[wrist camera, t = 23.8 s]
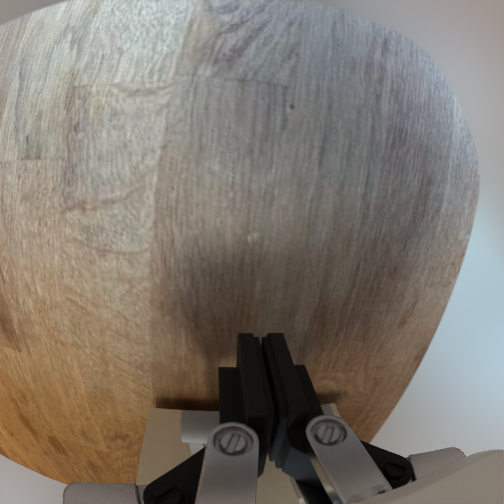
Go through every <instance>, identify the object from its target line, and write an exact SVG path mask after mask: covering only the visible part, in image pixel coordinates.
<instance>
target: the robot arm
mask: <svg viewBox="0 0 504 504" xmlns="http://www.w3.org/2000/svg"><path fill="white" fill-rule="evenodd" d="M218 380H219V422H220V425H218V426H216V427H215V428H214V429H213V430H212V431H211V432H210V434H209V436H208V439H207V444H206V446H205V447H203V448H202V449H201V450H199V451H198V452H196V453H195V454H194V455H192V456H191V457H189V458H188V459H186V460H185V461H183V462H182V463H180V464H179V465H177V466H176V467H174V468H173V469H171V470H170V471H168V472H167V473H165V474H163V475H162V476H160V477H159V478H157V479H155V480H154V481H152V482H151V483H150V484H148V485H136V483H95V482H73V483H71V484H69V485H67V487H66V488H65V489H64V493H63V504H256V497H257V479H258V478H259V477H260V476H261V475H262V474H263V472H264V467H265V463H266V458H267V454H268V458H269V461H270V462H273V461H275V466H276V469H277V468H281V469H282V472H284V473H285V474H287V475H289V478H290V482H291V484H292V486H293V489H294V491H295V493H296V495H297V498H298V500H299V502H300V504H504V450H488V451H484V452H479V453H475V454H472V455H470V456H467V457H466V456H465V455H464V453H463V452H462V451H461V450H460V449H458V448H455V447H451V448H445V449H441V450H436V451H431V452H425V453H420V454H414V455H409V457H408V458H404V457H402V456H400V455H397V454H395V453H392V452H389V451H387V450H384V449H381V448H379V447H376V446H373V445H371V444H368V443H366V442H363V441H361V440H359V439H358V437H357V436H356V434H355V433H354V431H353V430H352V428H351V427H350V425H349V424H348V423H347V422H346V421H345V420H343V419H342V418H340V417H337V416H334V415H324V413H323V410H322V407H321V405H320V402H319V400H318V397H317V395H316V392H315V390H314V387H313V384H312V382H311V379H310V377H309V374H308V372H307V369H306V367H305V366H304V365H294V363H293V360H292V357H291V355H290V352H289V349H288V346H287V343H286V340H285V337H284V335H283V333H268V334H267V337H262V343H261V346H260V341H259V337H254V336H253V333H238V341H237V364H236V367H218Z"/></svg>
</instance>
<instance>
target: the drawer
mask: <svg viewBox="0 0 504 504" xmlns="http://www.w3.org/2000/svg"><path fill="white" fill-rule="evenodd" d="M321 407H322V410H323V413H324V415H334V416H337V417H340V414H339V412H338V410H337V407H336V405H335V403H331V404H324V405H321ZM340 418H341V417H340ZM218 425H220V422H219V411H189V410H173V409H160V408H150V409H149V414H148V419H147V423H146V428H145V434H144V439H143V444H142V450H141V455H140V461H139V467H138V473H137V479H136V485H148V484H150V483H151V482H152V481H154V480H155V479H157V478H159V477H160V476H162V475H163V474H165V473H167V472H168V471H170V470H171V469H173V468H174V467H176V466H177V465H179V464H180V463H182V462H183V461H185V460H186V459H188V458H189V457H191V456H192V455H194V454H195V453H196V452H198V451H199V450H201V449H202V448H203V447H205V446H206V444H207V439H208V436H209V434H210V432H211V431H212V430H213V429H214V428H215V427H216V426H218ZM256 504H300V502H299V500H298V498H297V495H296V493H295V491H294V489H293V486H292V484H291V482H290V478H289V475H287V474H285V473H284V472H282V469H281V468H277V469H276V466H275V461H273V462H270V461H269V458H268V454H267V458H266V463H265V467H264V472H263V474H262V475H261V476H260V477H259V478H258V479H257V497H256Z"/></svg>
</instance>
